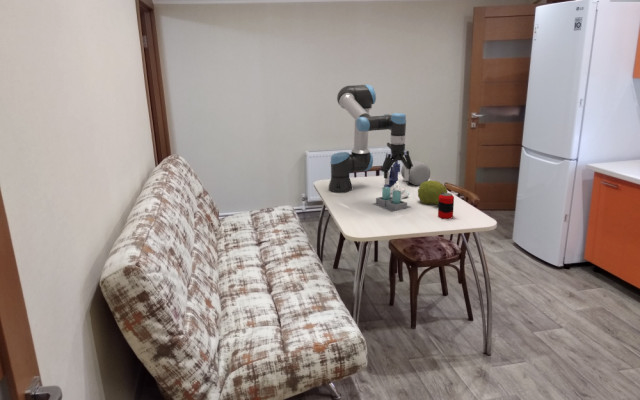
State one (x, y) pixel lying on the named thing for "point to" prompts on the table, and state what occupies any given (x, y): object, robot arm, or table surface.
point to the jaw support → (398, 188)
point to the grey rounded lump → (417, 173)
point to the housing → (390, 204)
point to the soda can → (445, 205)
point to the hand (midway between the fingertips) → (396, 182)
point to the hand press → (393, 172)
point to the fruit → (431, 192)
